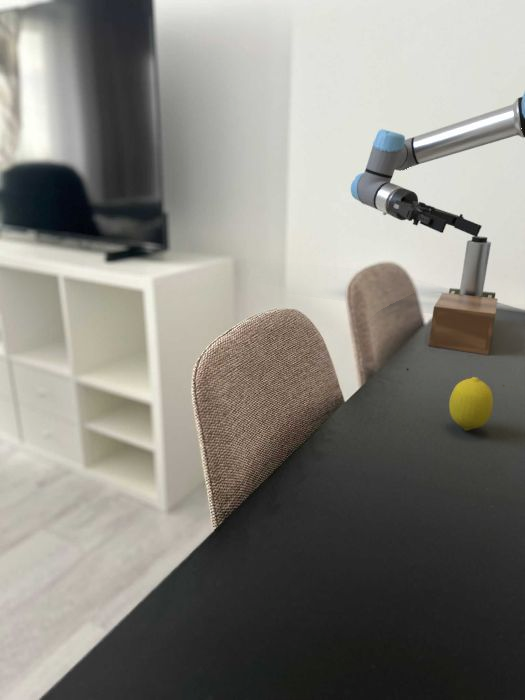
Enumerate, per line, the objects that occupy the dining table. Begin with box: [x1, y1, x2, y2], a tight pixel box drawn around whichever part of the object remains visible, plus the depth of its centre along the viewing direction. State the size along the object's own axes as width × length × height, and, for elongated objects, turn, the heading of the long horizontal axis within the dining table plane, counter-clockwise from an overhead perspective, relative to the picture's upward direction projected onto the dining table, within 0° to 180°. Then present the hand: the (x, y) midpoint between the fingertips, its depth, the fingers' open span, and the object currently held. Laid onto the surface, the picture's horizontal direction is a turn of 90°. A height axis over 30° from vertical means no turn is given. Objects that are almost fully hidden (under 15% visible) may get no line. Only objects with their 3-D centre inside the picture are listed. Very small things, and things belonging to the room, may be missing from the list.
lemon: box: [448, 376, 494, 432], centre depth 71 cm, size 6×6×8 cm
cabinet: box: [428, 292, 498, 356], centre depth 110 cm, size 15×12×9 cm
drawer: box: [448, 287, 497, 298], centre depth 120 cm, size 15×10×7 cm
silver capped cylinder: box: [459, 235, 492, 297], centre depth 118 cm, size 5×5×19 cm
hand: (462, 229), depth 119 cm, fingers open, 13 cm apart
